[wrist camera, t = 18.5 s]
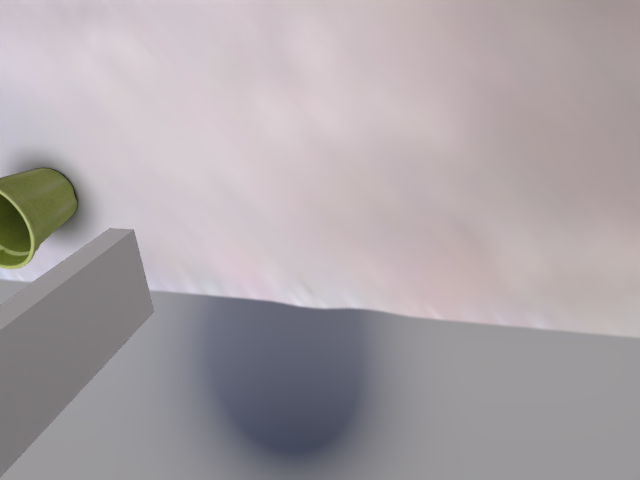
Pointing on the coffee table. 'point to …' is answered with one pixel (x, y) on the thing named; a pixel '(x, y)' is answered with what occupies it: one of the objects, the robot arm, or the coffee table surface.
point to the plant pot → (31, 212)
